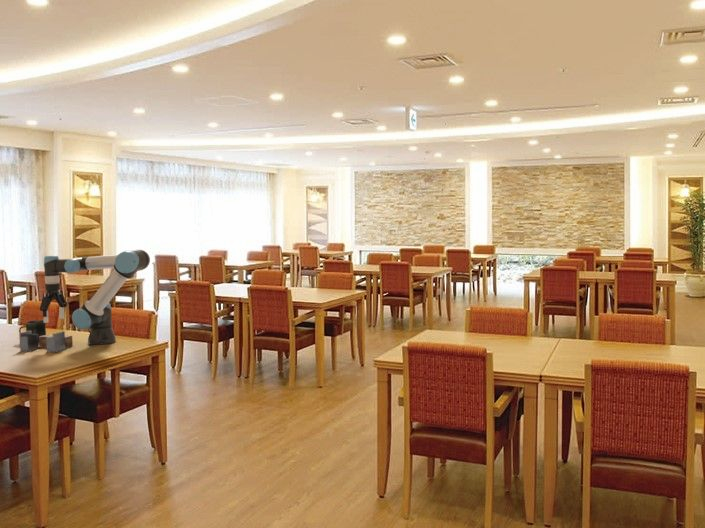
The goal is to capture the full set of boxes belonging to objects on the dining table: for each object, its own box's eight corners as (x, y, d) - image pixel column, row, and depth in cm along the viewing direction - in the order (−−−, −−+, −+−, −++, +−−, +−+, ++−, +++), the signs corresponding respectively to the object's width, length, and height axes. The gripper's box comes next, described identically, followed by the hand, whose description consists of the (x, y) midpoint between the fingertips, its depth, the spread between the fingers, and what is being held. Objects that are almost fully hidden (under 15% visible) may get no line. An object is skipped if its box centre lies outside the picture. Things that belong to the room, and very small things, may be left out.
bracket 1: (38, 348, 386) (37, 330, 385) (28, 351, 378) (27, 333, 377) (31, 348, 387) (30, 330, 386) (20, 351, 379) (19, 333, 378)
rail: (72, 346, 391) (72, 335, 391) (66, 348, 386) (66, 337, 386) (45, 345, 396) (45, 335, 395) (39, 347, 391) (38, 336, 390)
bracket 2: (65, 349, 382) (64, 331, 381) (55, 352, 374) (54, 334, 373) (57, 348, 383) (56, 331, 382) (47, 352, 375) (46, 333, 374)
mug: (47, 342, 403) (46, 322, 402) (19, 345, 397) (18, 324, 396) (47, 339, 413) (46, 319, 412) (20, 342, 407) (18, 321, 406)
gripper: (61, 280, 401) (62, 317, 403) (31, 285, 377) (33, 324, 379) (72, 280, 399) (74, 317, 401) (43, 285, 375) (45, 324, 377)
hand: (54, 320), depth 390 cm, fingers open, 13 cm apart
